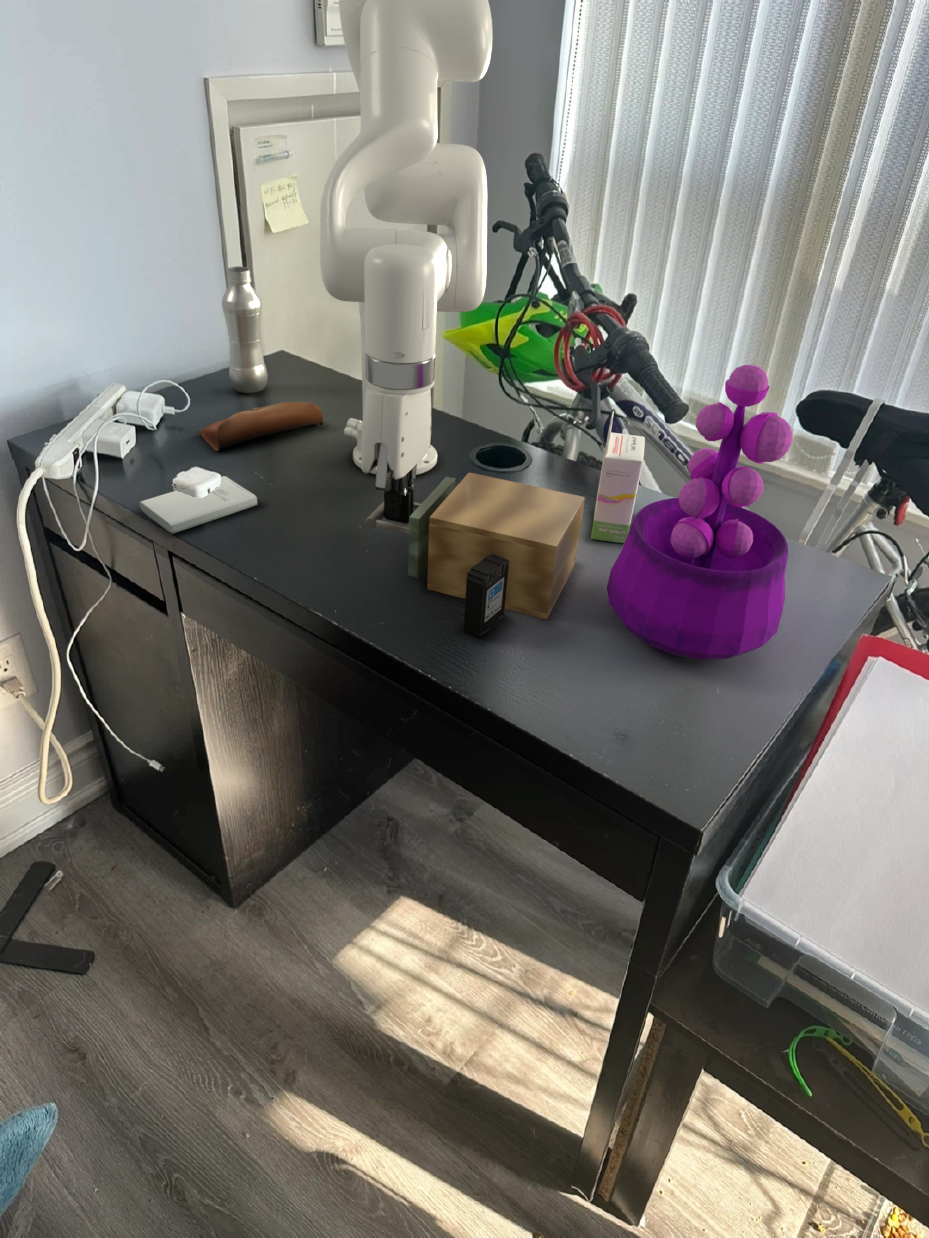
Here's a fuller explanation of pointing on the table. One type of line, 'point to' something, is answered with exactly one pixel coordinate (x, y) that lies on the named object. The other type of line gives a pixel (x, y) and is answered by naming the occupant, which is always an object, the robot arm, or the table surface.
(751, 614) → the decorative plant
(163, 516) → the hard drive
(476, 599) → the ink cartridge
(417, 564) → the drawer
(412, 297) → the robot arm
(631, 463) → the ink box
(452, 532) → the cabinet
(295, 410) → the sunglasses case
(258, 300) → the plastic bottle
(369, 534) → the table surface
